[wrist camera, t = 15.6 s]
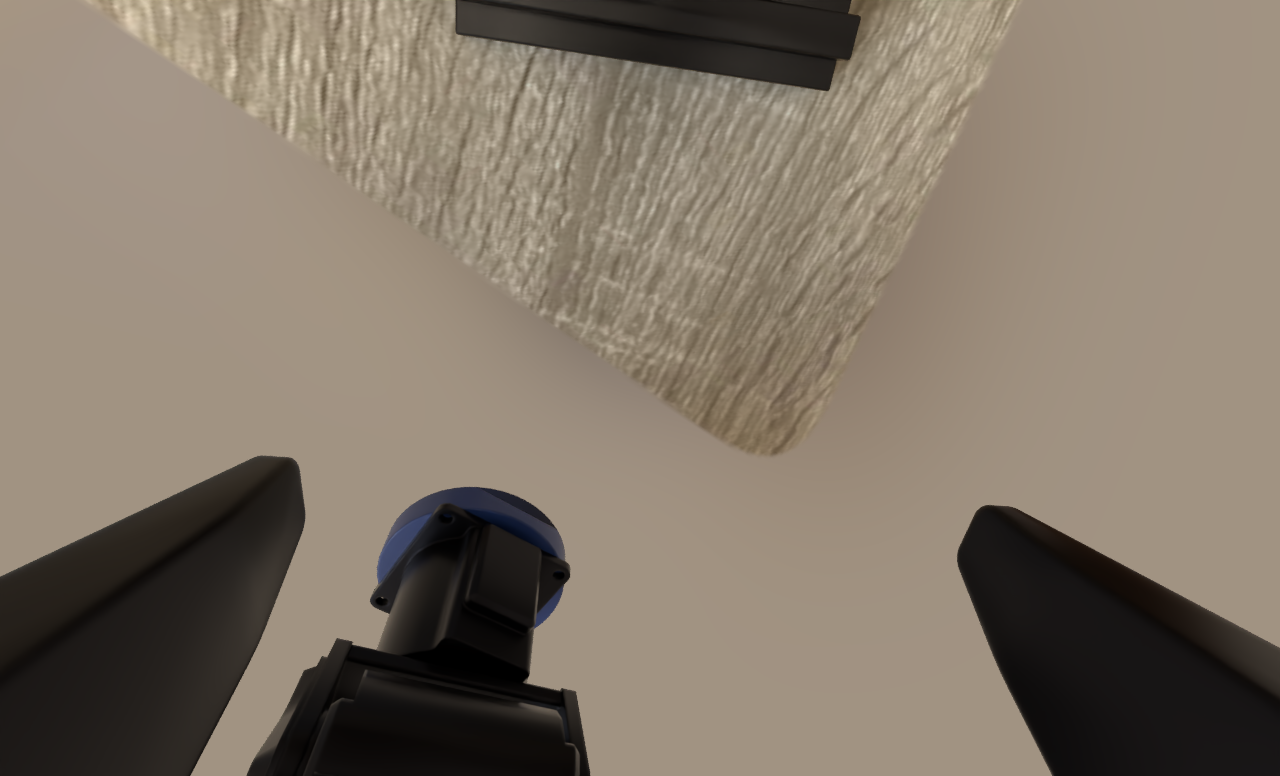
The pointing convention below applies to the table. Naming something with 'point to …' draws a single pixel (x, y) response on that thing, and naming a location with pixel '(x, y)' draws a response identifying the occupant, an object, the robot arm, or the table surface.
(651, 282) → the table surface
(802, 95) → the table surface
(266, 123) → the table surface
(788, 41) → the clock rack
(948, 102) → the table surface
